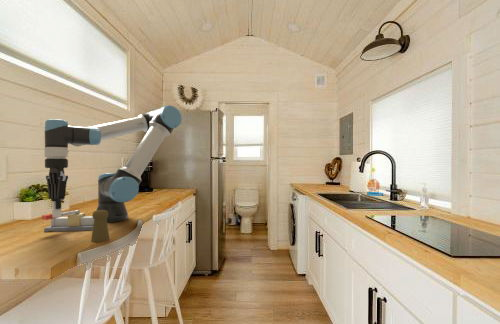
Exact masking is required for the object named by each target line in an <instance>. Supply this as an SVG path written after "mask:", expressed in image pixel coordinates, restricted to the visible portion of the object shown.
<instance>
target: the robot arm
mask: <svg viewBox="0 0 500 324" xmlns="http://www.w3.org/2000/svg"><path fill="white" fill-rule="evenodd" d="M182 120H183V117H182V114H181V112H180V110H179V109H178V108H177V107H176V106H174V105H163V106H162V107H158V108H155V109H153V110H151V111H148V112H145V113H141V114H139V115H138V116H136V117H131V118H125V119H122V120H117V121H112V122H107V123H102V124H96V125H92V126H76V125H75V126H74V125H69V122H68V121H67V120H65V119H58V118H51V119H50V118H49V119H46V120H45V122H44V158H45V159H44V168H45V169H49V170H48V175H45V179H46V184H47V193H48V199H49V200H51V214H52V218H56V217H62V216H61V213H62V201H63V200H65V198H66V189H67V182H68V179H69V176H68V175H65V169H68V167H69V159H68V157H69V149H68V148H69V145H72V146H74V147H81V146H99V145H100V144H101V141H105V140H110V139H115V138H119V137H123V136H125V135H131V134H134V133H138V132H144V133H145V134H144V136H143V138H142V139H141V141H140V142H139V143H138V145H137V146H136V148H135V149H134V151H133V152H132V154H131V156H130V157H129V159H128V160H127V161H126V163H125V164H124V166H123V167H120V168H117V171H115V172H110V173H108V172H107V173H101V174H99V175H98V177H97V178H98V179H97V186H98V189H97V190H98V193H97V197H98V199H97V200H98V204H97V207H96V210H95V211H97V210H106V211H108V217H107V223H116V222H123V221H124V220H125V221H126V220H128V218H129V212H128V210H127V207H126V204H125V203H127V202H130V201H132V200H133V199H135V198H136V196H137V195H138V193H139V189H140V188H139V187H140V184H141V183H142V177H141V176H142V174H143V173H144V171H146V168H147V167H148V165H149V164H150V161H151V160H152V159H153V157H154V155H155V154H156V152H157V151H158V149H159V148H160V146H161V144H162V142H163V141H164V139H165V138H166V137H169V136H170V135H171V134H172V132H173V131H174V129H176V128H178V127H179V126H180V125H181V124H182Z"/></svg>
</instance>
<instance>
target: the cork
mask: <svg viewBox="0 0 500 324" xmlns="http://www.w3.org/2000/svg"><path fill="white" fill-rule="evenodd" d="M96 210H97V209H96ZM96 210H95V211H93V213H92V214H91V215H92V216H93V219H94V224H93V230H91V232H92V233H91V238H90V239H91V240H90V241H91V242H93V243H101V242H107V241H109V240H110V234H109V226H108V222H107V217H108V211H106V210H97V211H96Z"/></svg>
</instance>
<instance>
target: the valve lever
mask: <svg viewBox="0 0 500 324" xmlns="http://www.w3.org/2000/svg"><path fill="white" fill-rule="evenodd" d="M79 213H81V210H80V209H77V210H71V211H64V212H61V217H66V216H68V215H71V214H79ZM56 218H59V217H56ZM41 219H42V220H45V221H47V220H51V219H54V218H52V213H47V214H43V215H41Z"/></svg>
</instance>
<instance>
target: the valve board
mask: <svg viewBox="0 0 500 324" xmlns="http://www.w3.org/2000/svg"><path fill="white" fill-rule="evenodd" d="M93 224H94V219H93V216H91V215H89V216H88V215H87V216H86V212H80V213H79V214H71V215H67V216H61V217H59V218H54V219H50V225H48V226H45V227H44V228H43V232H44V233H47V232H48V231H56V232H79V231H80V232H81V231H82V232H84V231H93ZM48 233H49V232H48Z"/></svg>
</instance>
